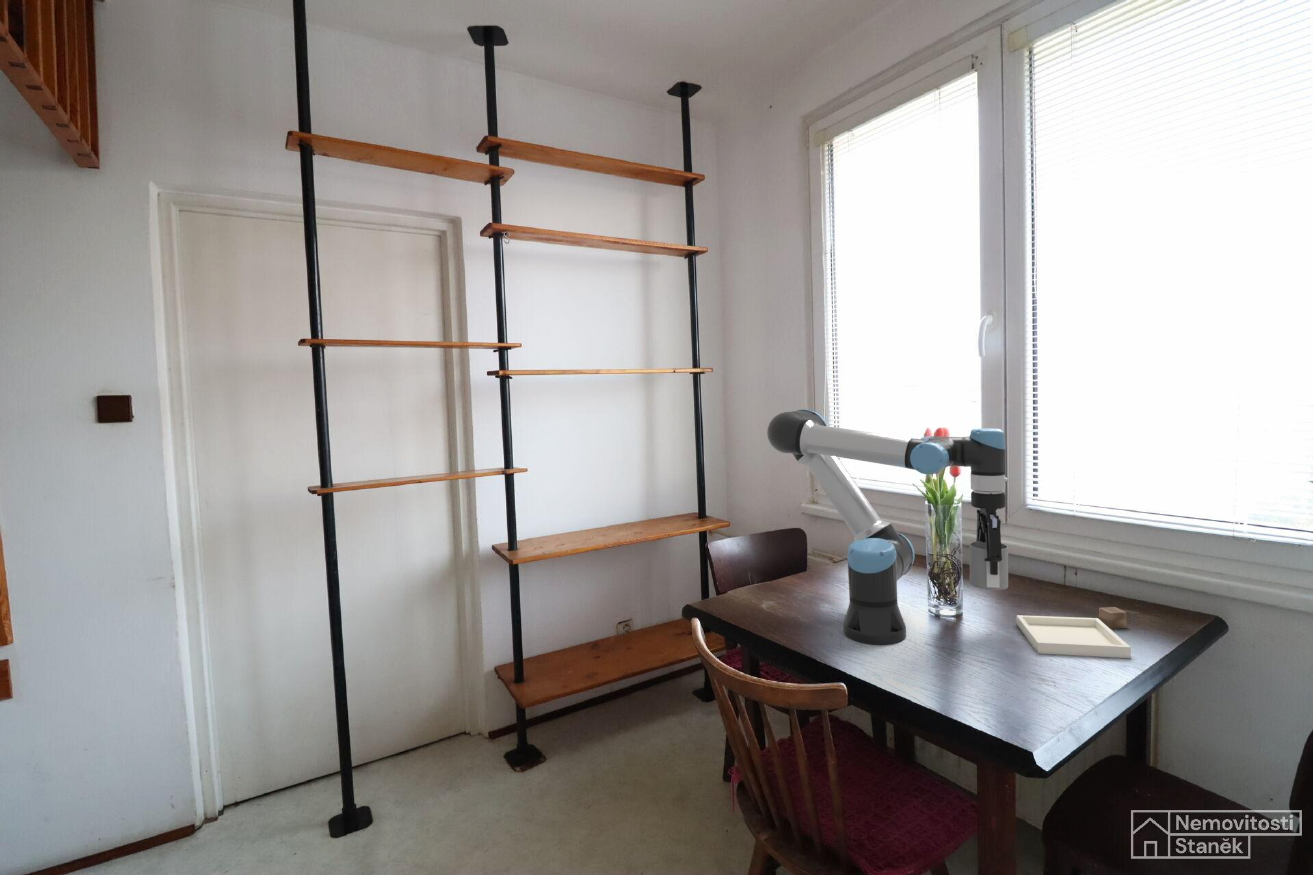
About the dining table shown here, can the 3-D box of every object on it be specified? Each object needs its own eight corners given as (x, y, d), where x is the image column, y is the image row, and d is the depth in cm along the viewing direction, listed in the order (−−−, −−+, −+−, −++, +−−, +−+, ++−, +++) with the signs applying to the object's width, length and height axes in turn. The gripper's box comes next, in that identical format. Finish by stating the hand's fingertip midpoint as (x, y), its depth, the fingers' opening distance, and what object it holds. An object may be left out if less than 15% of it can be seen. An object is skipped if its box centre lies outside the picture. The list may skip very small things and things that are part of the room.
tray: (1038, 653, 141) (1037, 642, 141) (1016, 624, 158) (1016, 615, 158) (1130, 658, 136) (1130, 647, 136) (1098, 628, 153) (1097, 618, 153)
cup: (1013, 590, 149) (1012, 549, 148) (976, 589, 151) (975, 549, 150) (1000, 579, 157) (1000, 541, 156) (966, 579, 159) (965, 541, 158)
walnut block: (1110, 628, 153) (1109, 613, 152) (1099, 623, 157) (1098, 607, 156) (1126, 628, 152) (1126, 612, 152) (1115, 622, 156) (1115, 606, 156)
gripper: (1016, 498, 141) (1017, 595, 143) (994, 484, 161) (995, 569, 163) (980, 498, 143) (981, 594, 145) (963, 484, 163) (963, 568, 165)
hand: (988, 581), depth 154 cm, fingers closed on cup, 8 cm apart
